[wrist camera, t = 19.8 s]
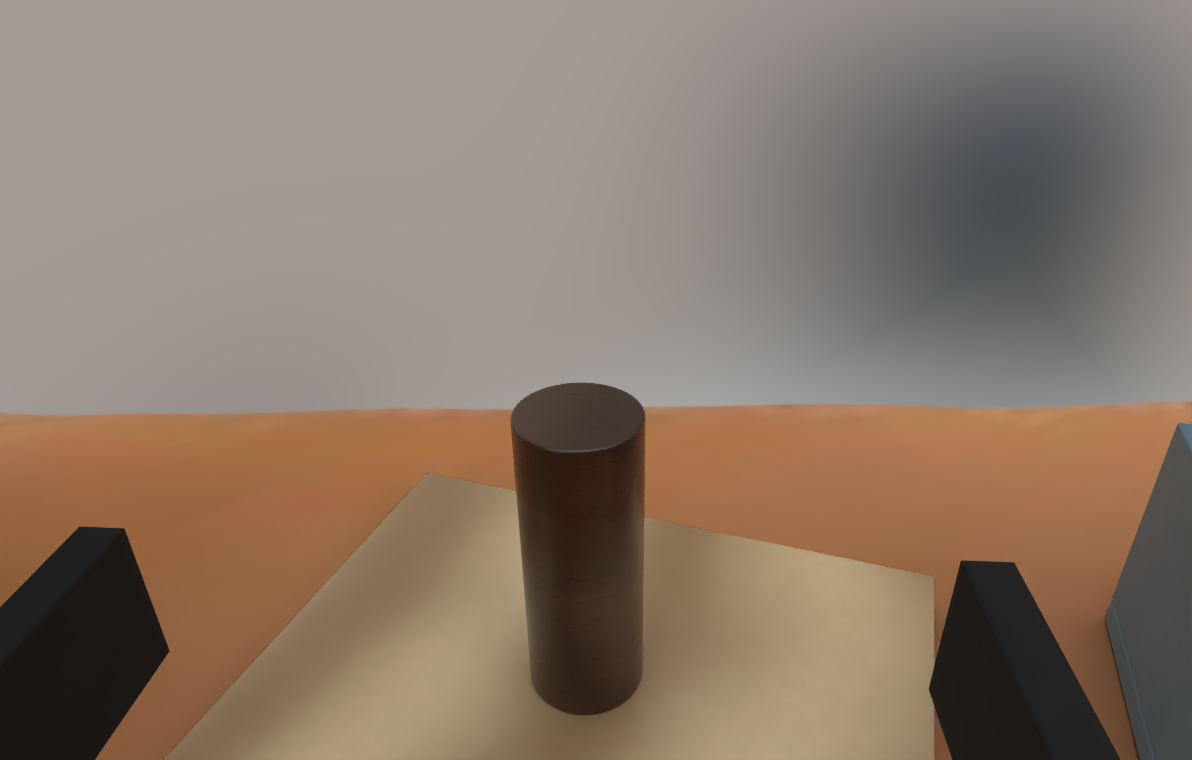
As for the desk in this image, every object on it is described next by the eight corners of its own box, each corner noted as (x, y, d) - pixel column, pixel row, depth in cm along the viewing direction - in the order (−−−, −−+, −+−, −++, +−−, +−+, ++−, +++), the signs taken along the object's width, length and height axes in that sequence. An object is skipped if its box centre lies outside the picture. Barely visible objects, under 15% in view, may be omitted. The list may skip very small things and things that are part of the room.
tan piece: (147, 823, 20) (9, 518, 15) (430, 498, 31) (397, 267, 27) (924, 1131, 15) (1053, 800, 10) (928, 605, 26) (990, 338, 21)
